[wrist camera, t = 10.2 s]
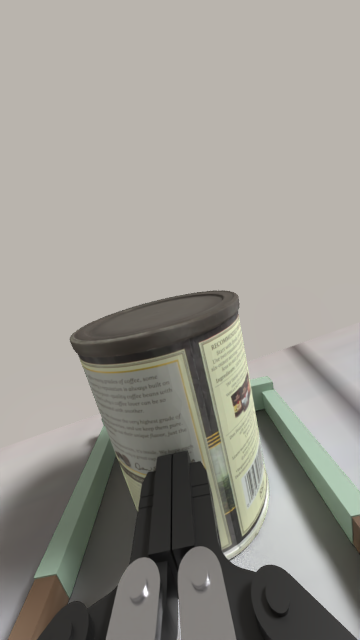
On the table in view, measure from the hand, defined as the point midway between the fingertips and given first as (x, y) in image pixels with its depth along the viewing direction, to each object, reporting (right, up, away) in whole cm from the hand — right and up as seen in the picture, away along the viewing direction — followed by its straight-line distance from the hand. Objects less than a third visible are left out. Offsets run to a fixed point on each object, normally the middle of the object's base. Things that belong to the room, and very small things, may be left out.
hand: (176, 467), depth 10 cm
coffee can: (+2, -6, +6) cm, 9 cm away
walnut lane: (+2, -9, -7) cm, 11 cm away
